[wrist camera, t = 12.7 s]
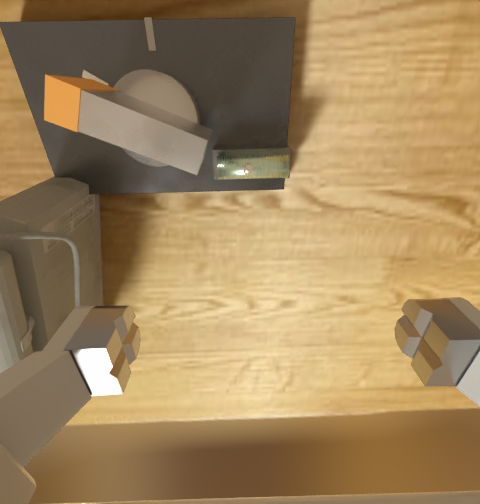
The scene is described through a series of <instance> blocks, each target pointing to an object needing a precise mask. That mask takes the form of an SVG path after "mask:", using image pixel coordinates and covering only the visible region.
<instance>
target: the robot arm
mask: <svg viewBox="0 0 480 504" xmlns="http://www.w3.org/2000/svg"><path fill="white" fill-rule="evenodd" d="M402 312H403V313H404V316H403V317H401V318H400V319H399V320H398V321H397V323H396V326H395V338H396V341H397V344H398V346H399V347H400V349H401V351H402V352H403V353H405V354H406V355H407V356H409V357H410V358H412V362H411V366H412V367H413V369H414V370H415V372H416V373H417V375H418V376H419V378H420V380H421V381H422V383H423V384H424V386H457V387H456V388H457V389H458V390H459V391H461V392H462V393H463V394H464V395H466V396H467V397H468V398H470V399H471V400H472V401H473V402H475V403H476V404H477V405H478V406H480V311H479V310H478V309H477V308H475V307H474V306H473V305H472V304H471V303H470V302H469V301H467V300H465V299H463V298H461V297H459V298H442V299H408V300H407V301H406V302H405V303H404V305H403V307H402ZM134 318H135V313H134V310H133V307H131V306H78V307H76V308H74V309H73V311H72V312H71V313H70V314H69V316H68V317H67V318H66V320H65V321H64V322H63V324H62V325H61V326H60V328H59V329H58V330H57V332H56V333H55V334H54V336H53V337H52V338H51V340H50V341H49V342H48V344H47V345H46V346H45V347H44V349H43V350H42V351H36V352H34V353H32V354H31V355H29V356H28V357H26V358H24V359H23V360H21V361H20V362H18V363H16V364H15V365H13V366H11V367H10V368H8V369H7V370H5V371H3V372H2V373H0V504H28V503H29V501H30V499H31V496H32V494H33V492H34V490H35V488H36V484H35V480H34V479H33V478H32V477H31V476H30V475H29V474H28V473H27V472H26V470H25V469H24V468H23V467H24V466H25V465H26V464H27V463H28V462H29V461H30V460H31V459H32V458H33V457H34V456H35V455H36V454H37V453H38V452H39V451H40V450H41V449H42V448H43V447H44V446H45V445H46V444H47V443H48V442H49V441H50V440H51V439H52V438H53V437H54V436H55V435H56V433H58V431H59V430H60V429H61V428H62V427H63V426H64V425H65V424H66V423H67V422H68V421H69V420H70V419H71V418H72V417H73V416H74V415H75V414H76V413H77V412H78V411H79V410H80V409H81V408H82V407H83V406H84V405H85V404H86V403H87V402H88V401H89V400H90V399H91V398H92V397H91V396H98V395H116V394H123V393H124V390H125V388H126V385H127V382H128V380H129V377H130V374H131V370H130V367H129V365H130V364H131V363H132V362H133V361H134V360H135V359H136V358H137V355H138V352H139V349H140V341H141V338H140V330H139V327H138V326H137V325H136V324H134V323H133V320H134ZM53 504H480V491H454V492H421V493H388V494H387V493H386V494H353V495H319V496H287V497H255V498H254V497H253V498H219V499H189V500H187V499H186V500H152V501H119V502H88V503H87V502H86V503H53Z"/></svg>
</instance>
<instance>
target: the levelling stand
mask: <svg viewBox="0 0 480 504" xmlns="http://www.w3.org/2000/svg"><path fill="white" fill-rule="evenodd" d="M0 27H1V30H2V33H3V36H4V38H5V41H6V44H7V47H8V49H9V52H10V55H11V57H12V60H13V63H14V66H15V68H16V71H17V74H18V77H19V79H20V82H21V85H22V88H23V90H24V93H25V96H26V99H27V101H28V104H29V107H30V109H31V112H32V115H33V118H34V120H35V123H36V126H37V129H38V131H39V134H40V137H41V140H42V142H43V145H44V148H45V151H46V153H47V156H48V159H49V162H50V164H51V167H52V170H53V172H54V175H55V177H59V178H72V179H75V180H78V181H80V182H83V183H86V184H88V185H89V195H92V194H129V193H166V192H203V191H240V190H277V189H284V181H285V178H289V176H290V162H291V149H292V148H291V147H290V146H287V136H288V121H289V106H290V91H291V76H292V61H293V46H294V31H295V17H288V18H223V19H159V20H152V17H144V20H94V21H30V22H0ZM142 69H147V70H154V71H158V72H161V73H165V74H168V75H170V76H173V77H175V78H177V79H178V80H179V81H181V82H182V83H183V84H184V85H185V86H186V87H187V88H188V89H189V90H190V91H191V93H192V94H193V96H194V98H195V99H196V102H197V104H198V107H199V111H200V116H201V125H202V126H205V127H207V128H209V129H212V130H213V131H212V134H211V137H210V141H209V144H208V147H207V150H206V154H205V157H204V159H203V162H202V164H201V167H200V169H199V172H198V174H197V175H195V174H192V173H189V172H187V171H184V170H181V169H179V168H176V167H173V166H171V165H168V166H161V167H159V166H150V165H146V164H143V163H141V162H139V161H137V160H135V159H134V158H132V157H131V156H130V155H128V154H127V153H126V152H125V151H124V150H123V149H122V148H121V147H119V146H116V145H114V144H111V143H108V142H106V141H103V140H100V139H97V138H95V137H92V136H89V135H87V134H84V133H81V132H75V131H72V130H70V129H67V128H64V127H61V126H59V125H56V124H53V123H51V122H48V121H45V120H44V100H45V74H46V75H56V76H65V77H74V78H84V79H93V80H95V81H98V82H100V83H102V84H105V85H107V86H110V87H112V88H113V87H114V86H115V84H116V83H117V82H118V81H119V80H120V79H121V78H122V77H123V76H125V75H126V74H128V73H130V72H132V71H136V70H142Z"/></svg>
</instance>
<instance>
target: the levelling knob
mask: <svg viewBox="0 0 480 504" xmlns="http://www.w3.org/2000/svg"><path fill="white" fill-rule="evenodd" d="M44 120H45V121H48V122H51V123H53V124H56V125H59V126H61V127H64V128H67V129H70V130H72V131H75V132H81V133H84V134H87V135H89V136H92V137H95V138H97V139H100V140H103V141H106V142H108V143H111V144H114V145H116V146H119V147H121V148H122V149H123V150H124V151H125V152H126V153H127V154H128V155H130V156H131V157H132V158H134V159H135V160H137V161H139V162H141V163H143V164H146V165H150V166H159V167H161V166H168V165H171V166H173V167H176V168H179V169H181V170H184V171H187V172H189V173H192V174H195V175H197V174H198V172H199V169H200V167H201V164H202V162H203V159H204V157H205V154H206V150H207V147H208V144H209V141H210V137H211V134H212V131H213V130H212V129H209V128H207V127H205V126H202V125H201V116H200V111H199V107H198V104H197V102H196V99H195V98H194V96H193V94H192V93H191V91H190V90H189V89H188V88H187V87H186V86H185V85H184V84H183V83H182V82H181V81H179V80H178V79H177V78H175V77H173V76H170V75H168V74H165V73H161V72H158V71H154V70H147V69H142V70H136V71H132V72H130V73H128V74H126V75H125V76H123V77H122V78H121V79H120V80H119V81H118V82H117V83H116V84H115V86H114V87H113V88H112V87H110V86H107V85H105V84H102V83H100V82H98V81H95V80H93V79H84V78H74V77H65V76H56V75H46V74H45V100H44Z"/></svg>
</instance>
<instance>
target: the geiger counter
mask: <svg viewBox="0 0 480 504" xmlns="http://www.w3.org/2000/svg"><path fill="white" fill-rule="evenodd" d="M78 306H104V300H103V275H102V249H101V223H100V197H99V194H92V195H89V185H88V184H86V183H83V182H80V181H78V180H75V179H72V178H59V177H53V178H50V179H48V180H46V181H44V182H42V183H39V184H37V185H35V186H33V187H31V188H29V189H26V190H24V191H22V192H20V193H18V194H15V195H13V196H11V197H9V198H7V199H5V200H2V201H0V373H2V372H3V371H5V370H7V369H8V368H10V367H11V366H13V365H15V364H16V363H18V362H20V361H21V360H23V359H24V358H26V357H28V356H29V355H31V354H32V353H34V352H36V351H42V350H43V349H44V347H45V346H46V345H47V344H48V342H49V341H50V340H51V338H52V337H53V336H54V334H55V333H56V332H57V330H58V329H59V328H60V326H61V325H62V324H63V322H64V321H65V320H66V318H67V317H68V316H69V314H70V313H71V312H72V311H73V309H74V308H76V307H78Z"/></svg>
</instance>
